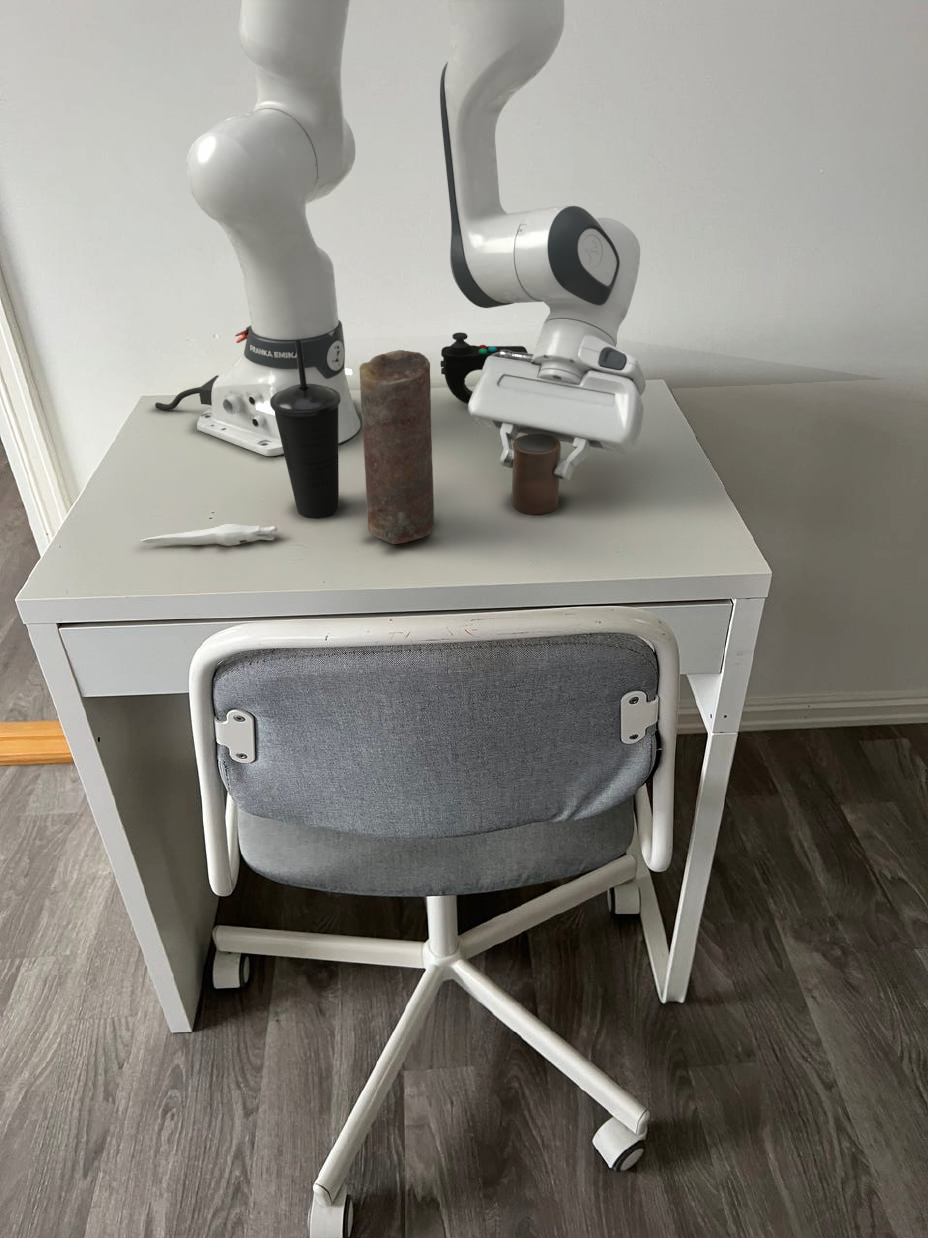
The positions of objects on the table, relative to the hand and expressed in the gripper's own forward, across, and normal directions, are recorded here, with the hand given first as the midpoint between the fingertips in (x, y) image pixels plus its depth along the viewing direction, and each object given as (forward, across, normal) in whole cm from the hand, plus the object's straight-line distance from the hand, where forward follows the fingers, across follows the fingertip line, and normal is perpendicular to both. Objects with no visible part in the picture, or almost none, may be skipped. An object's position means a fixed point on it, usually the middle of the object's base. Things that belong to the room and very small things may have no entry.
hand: (534, 471), depth 111 cm
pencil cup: (+3, 0, +4) cm, 4 cm away
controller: (-14, -18, +21) cm, 31 cm away
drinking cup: (+11, -22, -5) cm, 26 cm away
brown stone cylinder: (+12, -10, -5) cm, 17 cm away
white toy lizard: (+20, -29, -13) cm, 37 cm away
